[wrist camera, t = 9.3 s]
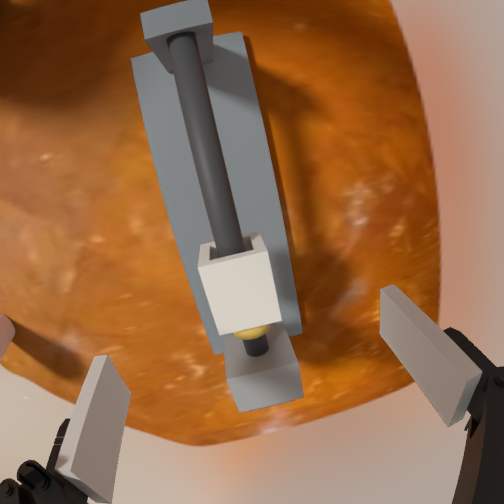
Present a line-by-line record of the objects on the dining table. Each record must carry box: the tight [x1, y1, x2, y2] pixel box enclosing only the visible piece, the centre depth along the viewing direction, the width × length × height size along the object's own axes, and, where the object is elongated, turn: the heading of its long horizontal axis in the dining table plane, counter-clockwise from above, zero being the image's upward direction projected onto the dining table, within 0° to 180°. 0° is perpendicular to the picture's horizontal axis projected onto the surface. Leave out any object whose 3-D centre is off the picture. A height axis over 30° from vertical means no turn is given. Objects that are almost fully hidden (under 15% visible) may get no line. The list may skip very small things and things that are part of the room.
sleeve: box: [198, 231, 282, 336], centre depth 21 cm, size 5×4×4 cm
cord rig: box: [131, 0, 304, 412], centre depth 23 cm, size 31×10×12 cm, turn 12°
